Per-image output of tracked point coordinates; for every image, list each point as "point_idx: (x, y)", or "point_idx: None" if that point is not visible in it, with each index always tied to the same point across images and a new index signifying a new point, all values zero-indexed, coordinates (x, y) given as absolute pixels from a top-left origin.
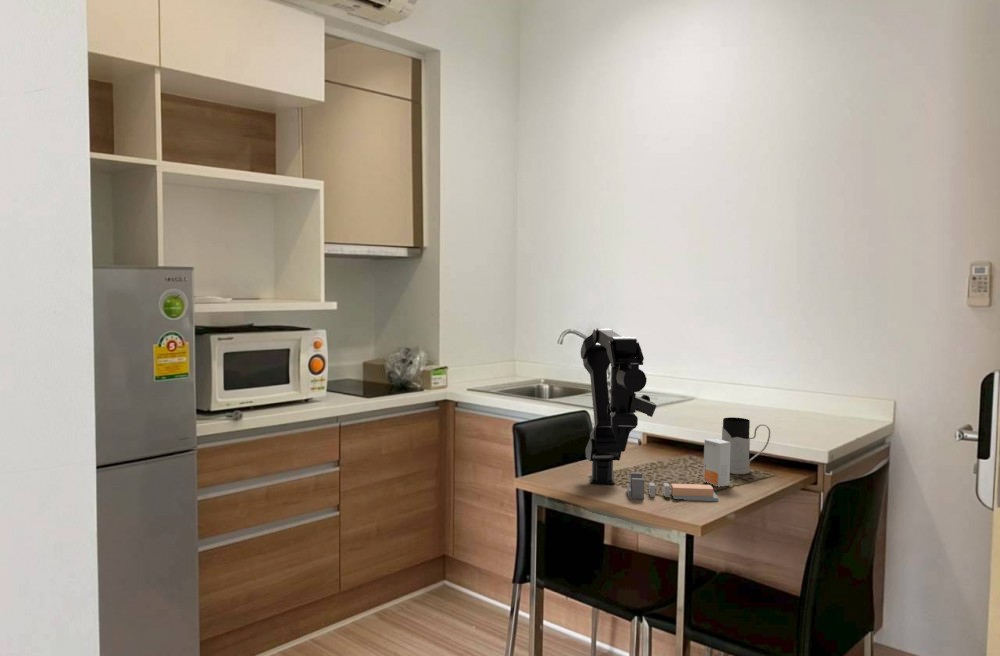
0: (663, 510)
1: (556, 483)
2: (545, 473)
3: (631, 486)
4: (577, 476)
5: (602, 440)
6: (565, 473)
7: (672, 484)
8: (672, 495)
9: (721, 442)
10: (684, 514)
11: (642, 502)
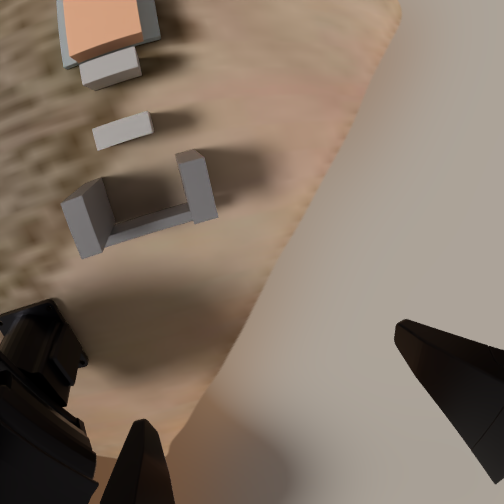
0: (318, 69)
1: None
2: None
3: (110, 225)
4: None
5: (74, 475)
6: None
7: (84, 47)
8: (114, 51)
9: None
10: (337, 12)
11: (242, 147)
